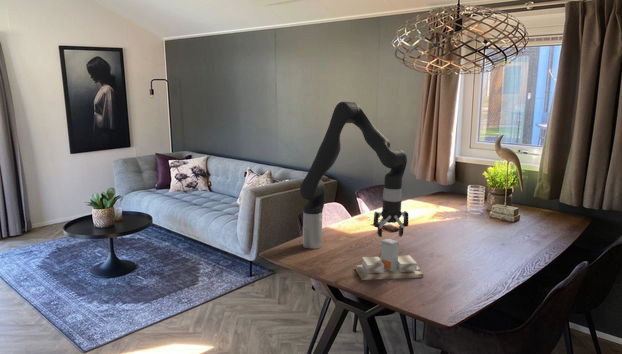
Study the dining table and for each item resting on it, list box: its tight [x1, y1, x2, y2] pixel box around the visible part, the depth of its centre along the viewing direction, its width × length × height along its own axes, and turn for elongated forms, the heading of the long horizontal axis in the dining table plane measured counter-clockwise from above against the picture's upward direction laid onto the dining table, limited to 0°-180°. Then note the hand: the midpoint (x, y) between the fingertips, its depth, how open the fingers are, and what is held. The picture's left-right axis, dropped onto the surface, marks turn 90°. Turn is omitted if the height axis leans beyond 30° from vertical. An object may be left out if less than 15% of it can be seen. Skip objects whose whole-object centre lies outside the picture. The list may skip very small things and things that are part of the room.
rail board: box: [355, 255, 424, 281], centre depth 197 cm, size 26×12×6 cm, turn 97°
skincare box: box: [380, 238, 400, 271], centre depth 196 cm, size 6×4×12 cm
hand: (390, 236), depth 194 cm, fingers open, 8 cm apart
